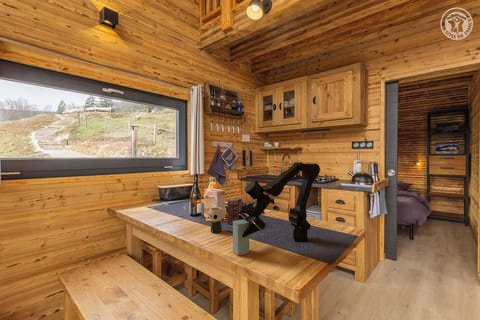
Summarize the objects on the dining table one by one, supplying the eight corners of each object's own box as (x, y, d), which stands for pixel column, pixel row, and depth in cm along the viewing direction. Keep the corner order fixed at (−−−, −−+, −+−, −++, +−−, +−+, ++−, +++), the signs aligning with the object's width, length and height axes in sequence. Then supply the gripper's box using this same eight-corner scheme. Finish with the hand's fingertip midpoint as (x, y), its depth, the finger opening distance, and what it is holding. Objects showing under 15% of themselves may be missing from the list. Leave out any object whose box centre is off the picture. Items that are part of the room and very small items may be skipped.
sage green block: (244, 247, 102) (243, 219, 102) (249, 252, 97) (249, 222, 97) (233, 249, 100) (232, 220, 100) (238, 254, 95) (237, 224, 95)
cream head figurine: (204, 232, 125) (204, 209, 125) (212, 228, 131) (211, 206, 131) (220, 235, 120) (220, 211, 119) (227, 231, 126) (227, 208, 126)
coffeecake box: (203, 217, 155) (203, 189, 154) (212, 215, 160) (211, 187, 159) (217, 221, 144) (216, 191, 144) (225, 219, 149) (225, 190, 149)
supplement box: (233, 227, 131) (233, 201, 131) (227, 226, 134) (227, 200, 134) (242, 224, 138) (242, 198, 138) (236, 222, 141) (236, 197, 141)
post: (244, 248, 103) (244, 238, 103) (251, 253, 97) (250, 243, 97) (231, 250, 100) (231, 241, 100) (237, 256, 94) (237, 246, 94)
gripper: (239, 191, 108) (218, 217, 104) (258, 198, 91) (234, 229, 87) (254, 205, 112) (234, 231, 107) (275, 214, 95) (252, 245, 90)
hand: (238, 233), depth 98 cm, fingers open, 9 cm apart
